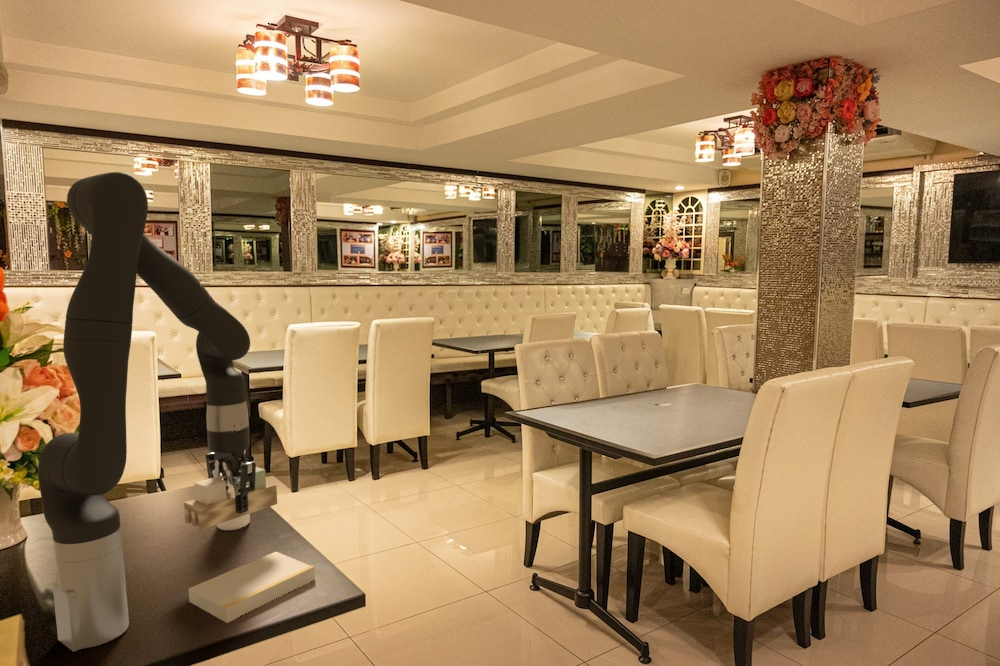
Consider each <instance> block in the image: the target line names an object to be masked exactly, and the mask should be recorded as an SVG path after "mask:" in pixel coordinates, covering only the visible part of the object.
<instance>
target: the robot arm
mask: <svg viewBox="0 0 1000 666" xmlns="http://www.w3.org/2000/svg"><path fill="white" fill-rule="evenodd" d="M148 202H149V201H148V197H147V192H146V190H145V188H144V187H143V185H142V184H141V182H140V181H139V180H138V179H137V178H135V177H134V176H133V175H132V174H128V173H127V172H124V171H110V172H105V173H101V174H100V173H99V174H96V175H91V176H88V177H84V178H81V179H79V180H77V181H75V183H73V184H72V185H71V186H70V188H69V190H68V193H67V195H66V205H67V208H68V211H69V213H70V214H71V216H72V218H73V219H74V220H75V221H76V222H77V223H78V224H79V225H80V226H81V227H82V228H84V229H85V230H86V231H87V232H88V233H90V234H91V236H90V237H91V239H90V242H91V243H90V249H89V253H88V259H87V262H86V264H85V267H84V269H83V271H82V274H81V275H80V278H79V279H78V282H77V284H76V286H75V288H74V289H73V292H72V294H71V297H70V300H69V301H68V305H67V309H66V313H65V314H66V315H65V323H64V333H63V342H62V343H63V345H62V346H63V347H62V348H63V356H64V360H65V363H66V366H67V369H68V372H69V374H70V377H71V379H72V381H73V384H74V386H75V391H76V393H77V394H78V398H79V407H80V412H79V413H80V415H79V427H78V432H67V433H61V434H59V435H57V436H55V437H53V438H51V439H50V440H49V441H48V442H47V443H46V444H45V445H44V447H43V449H42V451H41V453H40V455H39V459H38V466H37V476H38V486H39V492H40V497H41V498H40V499H41V505H42V510H43V514H44V515H43V516H44V519H45V522H46V523H47V526H49V528H50V530H51V532H52V541H53V552H54V562H55V570H56V571H55V572H56V579H57V580H56V581H57V582H55V583H53V584H52V590H53V591H52V592H53V602H54V612H55V614H54V615H55V622H56V630H57V633H56V634H57V640H58V641H59V642H60V643H62V644H63V645H64V646H65V647H67V649H69V650H70V651H72V652H73V653H74V652H77V651H79V650H81V649H87V648H94V647H97V646H101V645H103V644H106V643H109V642H110V641H113V640H114V639H117V638H118V637H120V636H121V635H122V634H123V633H125V632H126V631H127V630H128V628H129V626H130V620H129V607H128V598H127V596H128V595H127V587H126V586H127V585H126V574H125V564H124V563H125V562H124V553H123V552H124V551H123V541H122V540H123V539H122V531H121V530H122V529H121V528H122V527H121V517H120V516H121V515H120V512H119V510H118V508H117V507H116V506H114V505H113V504H112V503H110V501H108V500H107V499H106V498H105V497H104V495H105V494H107V493H109V492H111V491H112V490H113V489H114V488H116V486H117V485H118V484H119V482H120V480H121V479H122V478H123V476H124V472H125V469H126V464H127V453H128V452H127V451H128V450H127V448H128V446H127V443H128V442H127V405H126V404H127V392H128V391H127V389H128V386H127V385H128V373H129V372H128V371H129V357H130V353H131V351H130V350H131V342H132V334H133V333H132V332H133V324H134V323H133V319H134V316H133V315H134V305H135V304H134V303H135V295H136V287H137V286H136V284H137V276H138V277H139V278H140V279H141V280H142V281H143V282H144V283H145V284H146V285H147V286H148V287H149V288H150V289H151V290H152V291H153V292H154V293H155V295H156V296H157V297H158V298H159V299H160V300H161V301H162V303H163V304H164V305H165V306H166V308H168V309H169V311H171V313H172V314H173V315H174V316H175V317H176V318H177V319H178V321H179V322H181V324H183V325H184V326H185V327H188V328H190V329H194V330H196V331H197V332H198V333H197V336H196V340H195V348H196V355H197V359H198V362H199V365H200V366H199V367H200V369H201V372H202V374H203V377H204V380H205V392H206V416H205V417H206V433H207V448H208V449H207V450H208V451H209V452H208V453H206V454H205V460H206V461H205V463H206V470H207V477H208V478H207V479H210V478H213V477H215V478H218V479H221V480H224V481H226V485H228V482H229V483H230V484H231V485H233V488H234V491H235V494H236V495H235V502H236V513H238V514H241V513H244V512H247V511H248V492H251V491H254V490H255V474H256V467H257V464H256V462H255V461H247V458H246V453H245V454H244V451H245V449H246V450H247V449H248V448H249V447H250V443H251V441H250V423H249V421H250V419H249V411H248V405H247V396H246V395H247V392H246V379H245V376H244V375H243V373H242V372H240V371H238V370H237V369H236V368H235V366H234V362H233V361H237V360H240V359H242V358H244V357H245V356H246V355H247V354H248V352H249V350H250V347H251V339H250V338H251V337H250V335H249V333H248V331H247V329H246V326H244V325H243V324H242V323H241V322H240V321H239V320H238V319H237V318H236V317H235V316H234V315H232V314H231V312H229V311H228V310H227V309H226V308H224V307H223V306H222V305H220V304H219V303H218V302H217V301H215V299H214V298H213V297H212V295H211V293H209V291H208V290H207V289H206V288H205V286H204V285H203V284H202V283H201V281H200V280H199V279H198V278H197V277H196V276H195V274H194V273H192V272H191V271H190V270H189V269H188V268H187V267H185V265H183V264H182V263H181V262H179V261H178V260H177V259H175V258H174V257H173V256H172V255H170V254H168V253H167V252H166V251H164V250H163V249H162V248H160V247H159V246H158V245H157V244H156V243H154V242H153V241H152V240H151V239H150V238H149V237H148V236H147V235H146V233H144V232H145V228H146V223H147V218H148V214H149V213H148V211H149V203H148ZM214 470H215V471H214ZM213 471H214V472H213ZM238 476H240V478H237V479H236V478H234V477H238ZM248 481H249V485H248ZM239 482H240V488H239V485H238V483H239ZM226 489H229V486H226Z"/></svg>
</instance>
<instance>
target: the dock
mask: <svg viewBox="0 0 1000 666" xmlns="http://www.w3.org/2000/svg"><path fill="white" fill-rule="evenodd" d="M315 568H316V567H315V566H313V565H310V564H307V563H306V562H302V561H300V560H298V559H295V558H293V557H291V556H288V555H285V554H283V553H281V552H278V551H274V552H272V553H269V554H267V555H264V556H262V557H260V558H258V559H255V560H254V561H251V562H249V563H248V562H247V563H245V564H244V565H241V566H238V567H237V568H234V569H231V570H229V571H227V572H225V573H222V574H220V575H217V576H215V577H212V578H210V579H208V580H205V581H203V582H201V583H199V584H196V585H194V586H192V587H189V588H188V601H189V603H191V604H192V605H194V606H196V607H198V608H199V609H201V610H203V611H205V612H206V613H209V614H211V615H212V616H214V617H215V618H217V619H219V620H221V621H223V622H224V623H225V624H228V623H230V622H233V621H235V620H236V619H238V617H239V618H240V616H241V615H243V616H244V614H245V613H247V614H249V613H250V611H251V612H253V611H255V610H256V609H255V608H257V609H259V608H261V607H262V605H263V606H265V605H267V604H269V603H271V602H272V601H271V600H273V601H275V600H277V599H279V598H281V597H283V596H285V595H287V594H289V593H288V592H290V591H292V590H294V589H296V590H297V588H298V589H299V587H300V588H301V587H304V586H306V585H308V584H309V583H312V582H314V581H315V580H316V574H315V573H316V572H315V571H316V570H315ZM313 580H314V581H313ZM311 581H312V582H311ZM305 584H306V585H305ZM303 585H304V586H303ZM294 591H295V590H294ZM292 592H293V591H292ZM286 593H287V594H286ZM290 593H291V592H290ZM284 594H285V595H284ZM282 595H283V596H282ZM278 597H279V598H278ZM276 598H277V599H276ZM274 599H275V600H274ZM270 601H271V602H270ZM268 602H269V603H268ZM266 603H267V604H266ZM264 604H265V605H264ZM260 606H261V607H260ZM258 607H259V608H258ZM254 609H255V610H254ZM252 610H253V611H252ZM248 612H249V613H248ZM245 615H246V614H245ZM241 617H242V616H241Z"/></svg>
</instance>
